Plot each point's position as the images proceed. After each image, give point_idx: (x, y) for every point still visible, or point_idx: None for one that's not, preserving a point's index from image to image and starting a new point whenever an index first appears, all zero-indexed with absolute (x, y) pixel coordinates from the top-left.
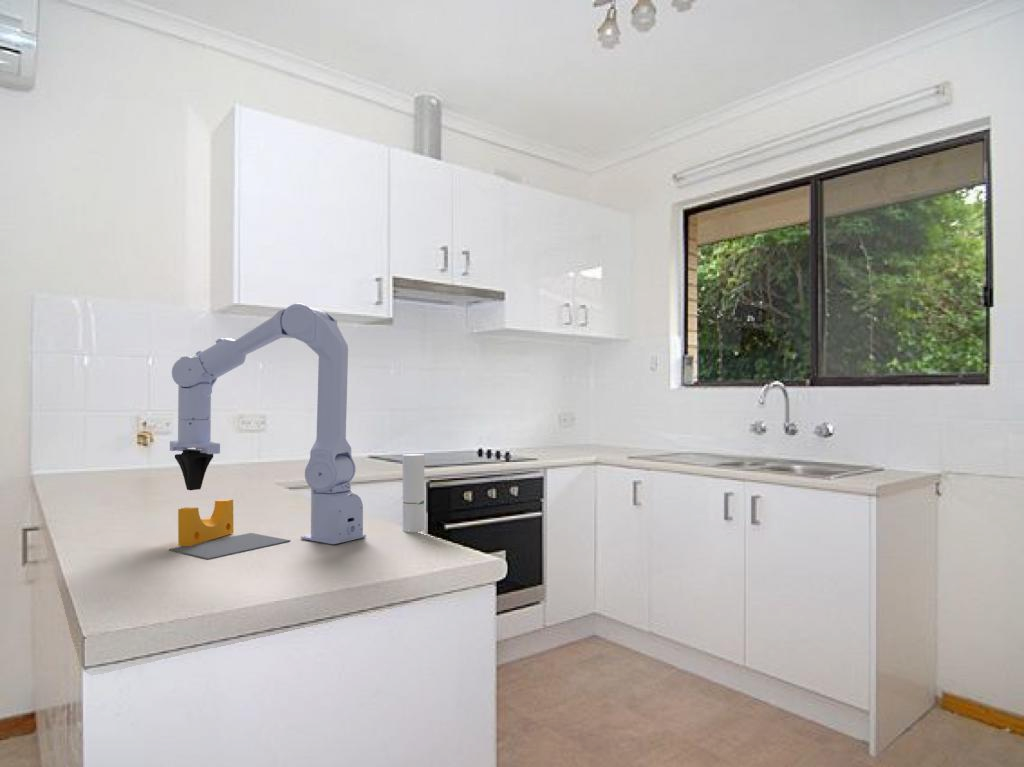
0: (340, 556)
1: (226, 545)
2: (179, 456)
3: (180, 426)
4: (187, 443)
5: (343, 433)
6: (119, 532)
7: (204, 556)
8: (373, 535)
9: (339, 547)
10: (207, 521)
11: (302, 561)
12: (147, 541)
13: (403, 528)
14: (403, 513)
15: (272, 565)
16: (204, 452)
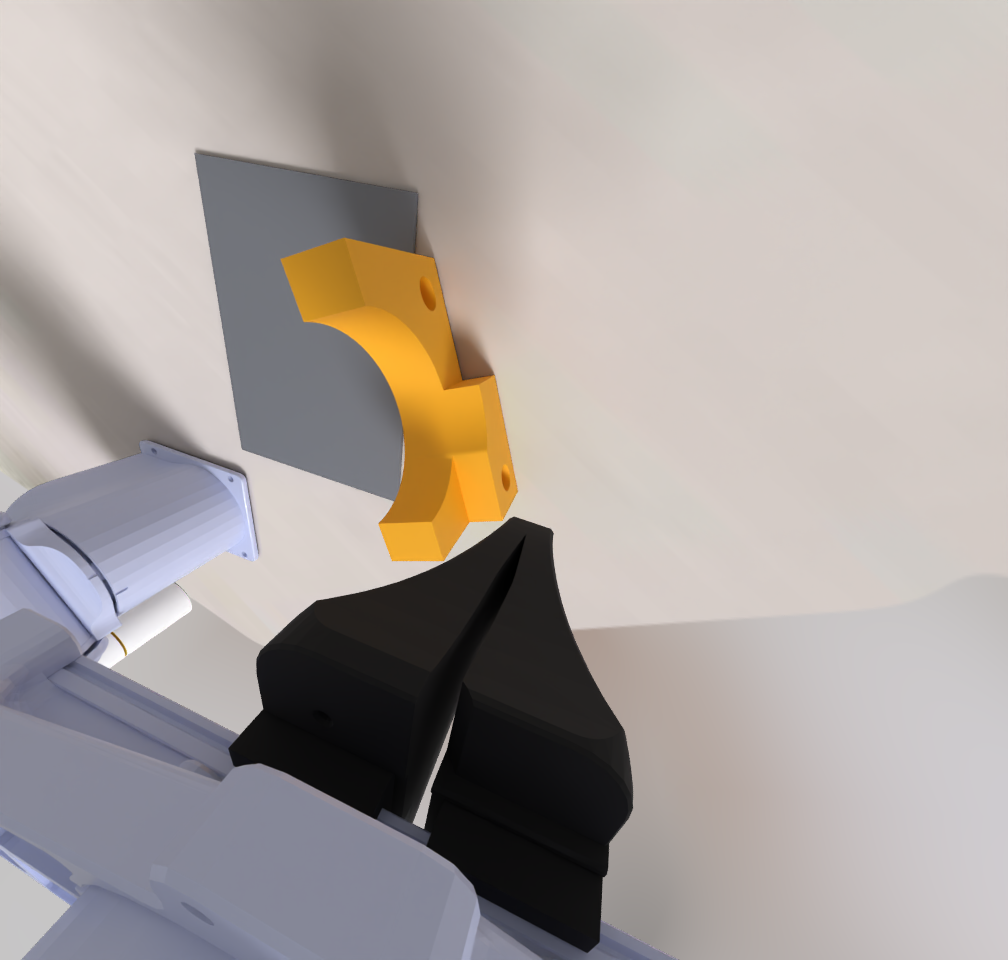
0: (57, 354)
1: (307, 332)
2: (470, 683)
3: None
4: (93, 869)
5: None
6: (991, 387)
7: (221, 167)
8: None
9: (128, 428)
10: (453, 442)
11: (53, 276)
12: (643, 281)
13: (170, 588)
14: (135, 610)
15: (50, 203)
16: (165, 706)
